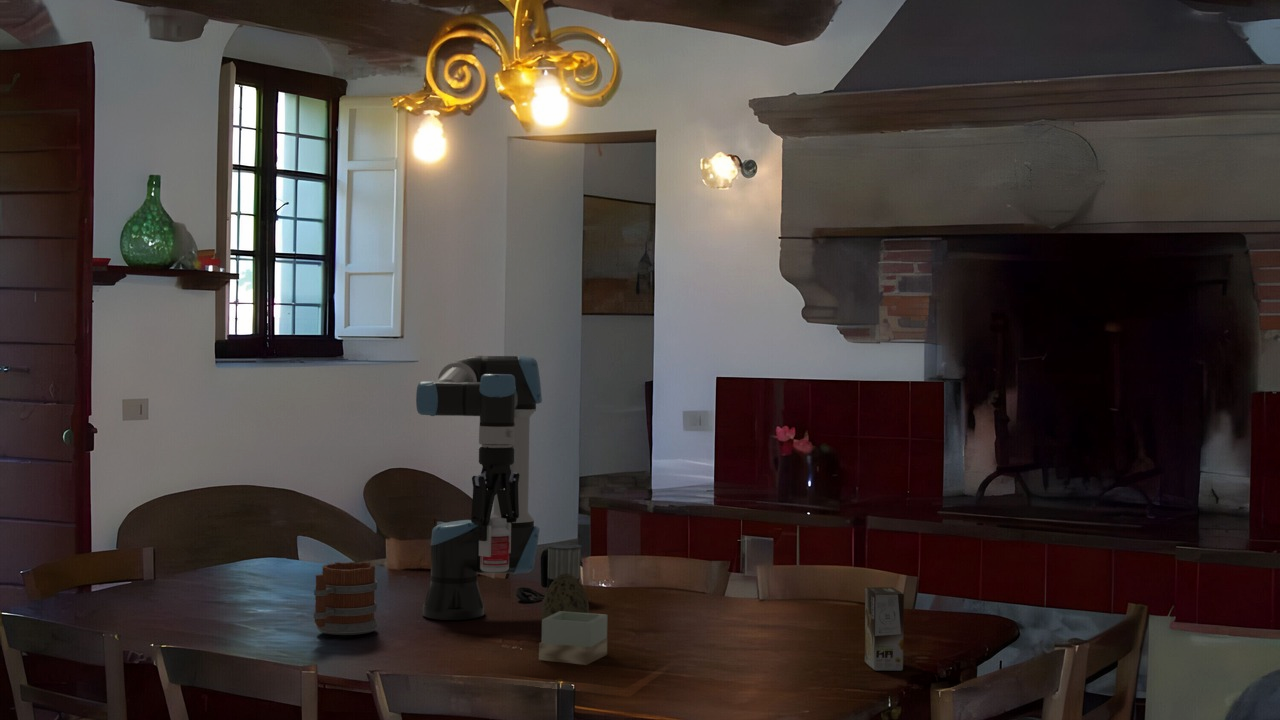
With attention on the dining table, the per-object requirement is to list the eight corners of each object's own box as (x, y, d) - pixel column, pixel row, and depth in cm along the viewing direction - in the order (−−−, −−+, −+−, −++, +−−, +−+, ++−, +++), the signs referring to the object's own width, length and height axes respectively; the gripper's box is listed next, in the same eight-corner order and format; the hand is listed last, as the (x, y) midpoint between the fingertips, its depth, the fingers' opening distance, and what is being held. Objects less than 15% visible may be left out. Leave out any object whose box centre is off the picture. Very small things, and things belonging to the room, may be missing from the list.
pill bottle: (514, 571, 284) (515, 519, 284) (488, 573, 281) (489, 520, 281) (500, 567, 289) (501, 516, 290) (475, 569, 286) (476, 517, 286)
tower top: (541, 643, 282) (541, 619, 282) (559, 633, 293) (559, 611, 293) (590, 647, 279) (591, 623, 279) (607, 637, 290) (607, 614, 290)
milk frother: (587, 600, 356) (588, 545, 356) (552, 609, 343) (553, 551, 343) (545, 595, 364) (546, 540, 364) (508, 603, 351) (509, 546, 351)
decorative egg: (570, 646, 297) (571, 578, 297) (531, 640, 303) (532, 574, 303) (597, 638, 306) (598, 572, 306) (559, 632, 312) (560, 568, 312)
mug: (389, 627, 316) (391, 563, 316) (342, 641, 298) (343, 574, 298) (340, 621, 321) (341, 559, 321) (290, 636, 303) (291, 569, 303)
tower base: (538, 661, 283) (539, 642, 283) (560, 652, 293) (561, 633, 293) (586, 667, 279) (586, 647, 279) (606, 656, 289) (607, 638, 289)
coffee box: (904, 671, 278) (905, 593, 278) (874, 671, 277) (875, 593, 277) (892, 661, 287) (893, 586, 287) (862, 661, 286) (864, 586, 287)
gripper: (482, 448, 275) (480, 561, 275) (537, 445, 292) (535, 551, 291) (454, 447, 279) (452, 557, 279) (509, 443, 295) (508, 548, 295)
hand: (494, 554), depth 285 cm, fingers closed on pill bottle, 6 cm apart
